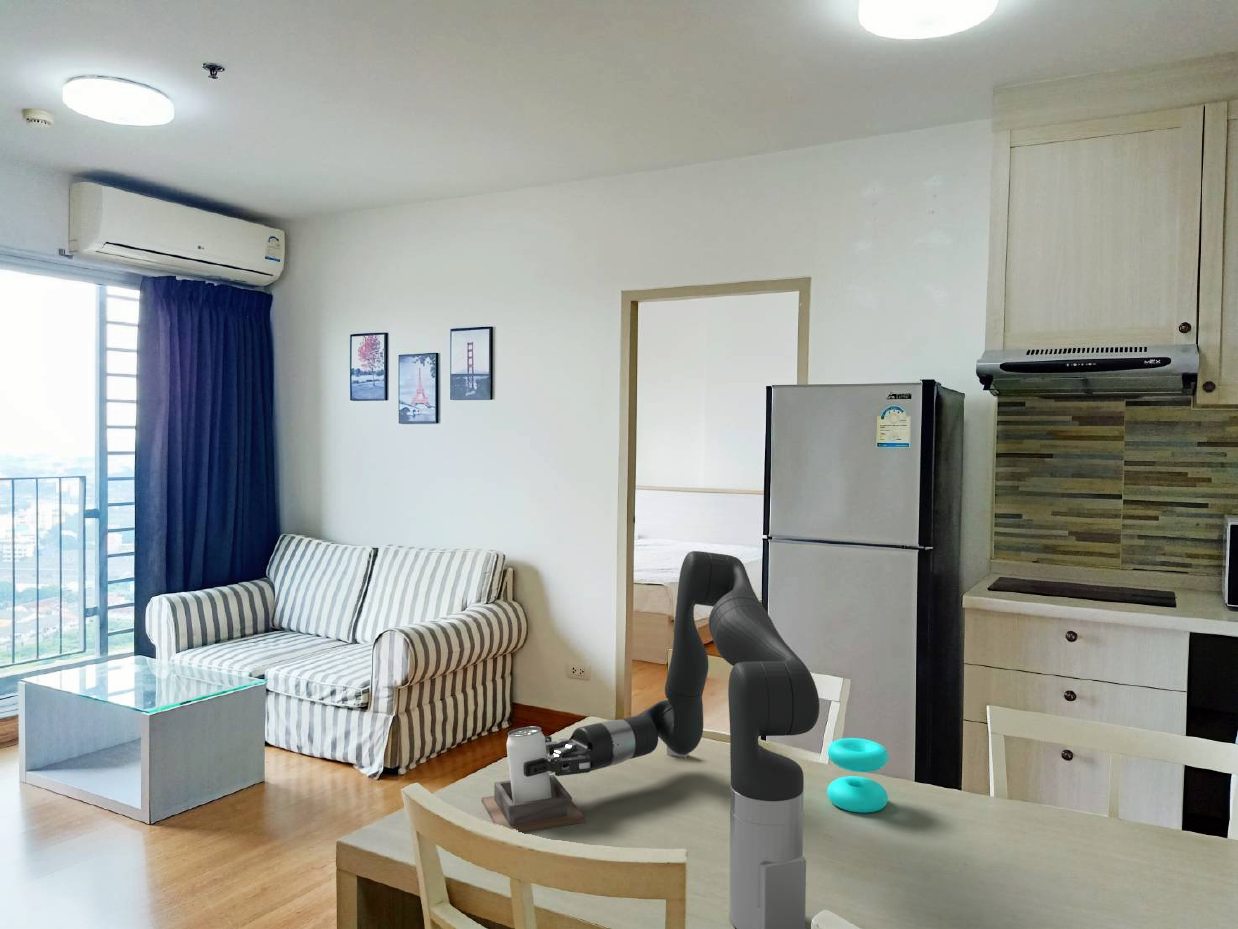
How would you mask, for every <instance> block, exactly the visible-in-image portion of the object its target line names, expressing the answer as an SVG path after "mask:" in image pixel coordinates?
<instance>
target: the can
mask: <svg viewBox="0 0 1238 929" xmlns="http://www.w3.org/2000/svg"><path fill="white" fill-rule="evenodd" d="M507 735H508V737H507V740H506V751H507V752H506V753H507V762H508V770H509V778H510V780H511V788H512V797H513V803H520V802H527V801H534V800H541V799H548V798H552V794H551V785H550V777H549V775H550V774H548V773H546V772H545V773H541V774H537V775H533V776H529V777H527V776H525V775H524V763H525V762H528V761H532V760H537V759H541V758H544V759H545V760H546V757H547V751H546V743H545V737H546V736H545V735H544V734H543V732H542V728H541V727H540V726H526V727H519V728H516V729H512V730H510V731H508V733H507ZM510 780H509V781H510Z"/></svg>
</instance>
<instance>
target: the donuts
mask: <svg viewBox="0 0 1238 929" xmlns="http://www.w3.org/2000/svg"><path fill="white" fill-rule="evenodd" d="M827 756H828V757H829V759H830V761H831V762H832V763H833V764H834V765H835V766H837V767H839V768H841V769H843V770H846V771H850V772H854V773H871V772H876V771H878V770H881V769H883V768H884V767H885V766H886V765H887V763H888V760H889V753H888V750H887V749H886V748H885V746H883V745H882V744H880V743H878V742H875V741H873V740H869V739H866V738H857V737H844V738H839V739H836V740H834V741H832V742H831V743H830V745H829V746H828V748H827ZM826 791H827V792H826V793H827V794H826V795H827V798H828V799H829V801H830V802H831V803H832V804H833V805H834V806H836V807H838V808H840V809H842V810H845V811H849V812H854V813H874V812H878V811H880V810H882V809H883V808H885V807H886V806H887V804H888V801H889V797H888V796H889V795H888V793H887V791H886V789H885V788H884V786H882V785H881V784H880V783H878V782H877V781H874V780H873V779H870V778H868V777H863V776H858V775H857V776H856V775H855V776H854V775H851V776H849V775H848V776H842V777H838V778H836V779H835V780H833V781H832V782H831V783H830V784H829V785H828V787H827V790H826Z"/></svg>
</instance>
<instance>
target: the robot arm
mask: <svg viewBox="0 0 1238 929" xmlns="http://www.w3.org/2000/svg"><path fill="white" fill-rule="evenodd" d="M750 580H751V579H750V578H749V576H748V572H747V570H746V567H745V564H744V563H743V562H742V561H741V560H740V559H739V557H737V556H734V555H729V554H723V553H714V552H707V551H701V550H700V551H699V550H698V551H697V550H692V551H689V552H688V553H687V554H686V556H684V559H683V561H682V564H681V568H680V572H679V578H678V584H677V585H678V586H677V595H676V605H675V606H676V607H675V615H674V616H675V617H674V628H673V639H672V640H673V642H672V651H671V657H670V662H669V666H668V671H667V676H666V679H665V680H666V681H665V686H664V694H665V698H666V699H665V700H660V701H658V702H656V703H655V704H653V705H652V706H650V707H649V708H646V709H644V711H642V712H640V713H639V714H637V715H635V716H634V715H633V716H629V717H625V718H621V719H611V720H605V721H601V722H597V723H593V724H588V725H587V724H586V725H584V726H580V727H577V728H576V729H575V730H573V731H572V734H571V736H570V737H569V738H568V739H567V738H560V739H557V740H555V741H553V739H552V738H553V737H552V736H550V735H546V736H544V737H545V743H546V751H547V757H546V760H545V759H544V758H541V759H537V760H532V761H528V762H525V763H524V775H525V776H527V777H529V776H533V775H537V774H541V773H545V772H546V773H548V774H549V775H552V774H553V773H554V776H555V777H563V776H571V775H579V774H588V773H590V772H593V771H596V770H601V769H605V768H608V767H611V766H615V765H619V764H621V763H623V762H625V761H628V760H632V759H635V758H639V757H643V756H646V755H649V754H651V753H653V752H654V751H655V750H656V749H657V746H658V743H659V739H660V740H661V741H662V742H663V743H664V744H665V745H666V747H667V746H668V747H669V748H670V749H671V750H672V751H673V752H675V753H677V754H680V755H684V754H688V753H689V754H691V753H692V752H693V751H694V750H696V748H697V747H698V745H699V744H700V741H701V740H702V738H703V732H704V704H703V694H704V690H705V685H706V681H707V678H708V673H709V664H710V663H709V656H708V653H707V650H706V647H705V644H704V643H703V640H702V638H701V636H700V634H699V630H698V629H697V625H696V621H695V615H694V614H695V613H694V610H695V606H696V605H699V606H706V607H712V609H711V611H710V614H709V618H708V629H709V634H710V637H711V639H712V641H713V643H714V645H715V647H716V649H717V652H718V654H719V655H720V656H721V657H722V658H723V660H724V661H726V662H727V664H729V665H731V666H732V668H731V670H730V672H729V678H728V688H727V690H728V692H727V693H728V695H727V696H728V700H727V701H728V714H729V715H728V716H729V737H730V738H729V740H730V741H729V744H730V746H729V747H730V749H729V751H730V752H729V754H730V756H729V758H730V759H729V760H730V807H729V809H730V810H729V819H730V820H729V822H730V823H729V904H728V905H729V910H728V911H729V915H728V916H729V921H730V923H731V925H732V926H733V927H734V928H736V929H806V917H807V916H806V914H807V913H806V908H807V905H806V904H807V902H806V901H807V900H806V899H807V886H806V885H807V860H806V857H804V850H803V848H804V845H803V844H804V838H803V837H804V789H805V788H804V787H805V786H804V784H805V782H804V781H805V780H804V779H805V778H804V772H803V768H802V767H801V765H800V764H799V763H798V762H796V761H795V760H793V759H791V758H790V757H787V756H786V755H782V754H780V753H776V752H774V751H771V750H768V749H767V748H764V747H763V746H762V745H760V744H759V737H782V736H784V737H786V736H798V735H803V734H806V733H808V732H810V731H811V730H812V729H813V728H814V727H815V726H816V724H817V723H818V720H819V717H820V716H819V715H820V708H821V707H820V697H819V694H818V692H819V691H818V688H817V686H816V682H815V681H814V680H815V679H814V678H813V676H812V674H811V672H810V670H809V669H808V667H807V666H806V664H805V663H804V662H803V661H802V659H800V657H799V656H798V655H797V654H796V653H795V652H794V651H793V650H792V649H791V648H790V646H789V645H788V644H787V643H786V642H785V640H784V639H783V638H782V636H781V634H780V633H779V632H778V630H777V628H776V627H775V625H774V622H773V620H772V618H771V616H770V615H769V613H768V612H767V610H766V609H765V607H764V605H762V603H761V602H760V600H759V598H758V597H757V594H756V593H755V590H754V588H753V586H752V583H751V581H750Z"/></svg>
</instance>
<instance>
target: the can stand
mask: <svg viewBox="0 0 1238 929" xmlns="http://www.w3.org/2000/svg"><path fill="white" fill-rule="evenodd" d="M549 777H550V785H551V794H552V798H548V799H541V800H534V801H527V802H520V803H513V797H512V788H511V780H504V781H496V782H494V784H493V786H494V792H493V793H494V794H493V795H490V796H483V797H481V802H482V804H483V806H484V808H485V810H486V812H487V813H488V815H489V817H490V818H491V821H492V822H493V824H494V823H496V824H499V825H503V826H505V827H508V828H510V829H516V830H518V831H521V832H520V833H523V832H529V831H536V830H542V829H547V828H548V829H549V828H554V827H556V828H557V827H560V826H567V825H574V824H580V823H586V821H587V818H586V816H585V815H584V814H583V812H582V811H581V810H580V809H579V808H578V807H577V805H576V804H575V803H574V801H573V797H572V795H571V794H570V793H569V792H568V791H567V789H566V788H565V787H564V786H563V785H562V783H561V782H560V781H559V780H558V778H557V776H555V774H549Z"/></svg>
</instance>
